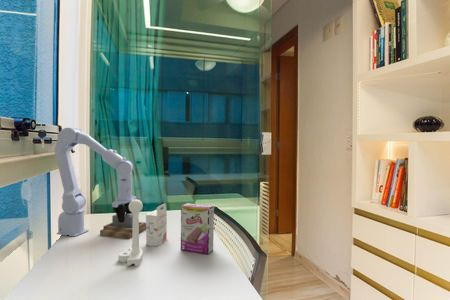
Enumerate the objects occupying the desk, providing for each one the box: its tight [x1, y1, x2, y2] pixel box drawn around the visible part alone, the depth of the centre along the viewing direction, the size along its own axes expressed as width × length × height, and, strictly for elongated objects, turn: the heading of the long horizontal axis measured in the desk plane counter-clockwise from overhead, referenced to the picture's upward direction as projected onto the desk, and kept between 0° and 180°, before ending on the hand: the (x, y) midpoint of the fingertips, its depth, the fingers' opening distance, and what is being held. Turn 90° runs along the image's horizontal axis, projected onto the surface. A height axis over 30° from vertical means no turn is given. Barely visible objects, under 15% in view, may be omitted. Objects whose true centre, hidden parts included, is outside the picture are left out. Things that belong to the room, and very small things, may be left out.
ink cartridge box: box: [145, 202, 168, 247], centre depth 110 cm, size 9×5×15 cm, turn 168°
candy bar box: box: [180, 202, 215, 255], centre depth 102 cm, size 11×5×16 cm, turn 71°
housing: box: [111, 212, 133, 228], centre depth 122 cm, size 9×5×6 cm, turn 74°
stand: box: [99, 221, 146, 240], centre depth 122 cm, size 14×14×3 cm
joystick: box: [117, 199, 144, 267], centre depth 93 cm, size 11×8×20 cm
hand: (125, 220), depth 122 cm, fingers closed on housing, 5 cm apart
